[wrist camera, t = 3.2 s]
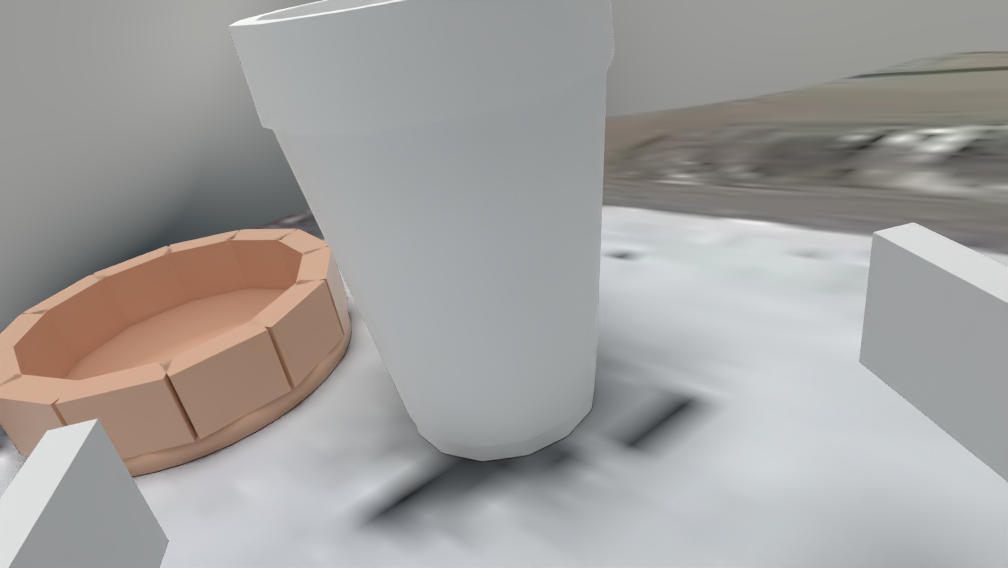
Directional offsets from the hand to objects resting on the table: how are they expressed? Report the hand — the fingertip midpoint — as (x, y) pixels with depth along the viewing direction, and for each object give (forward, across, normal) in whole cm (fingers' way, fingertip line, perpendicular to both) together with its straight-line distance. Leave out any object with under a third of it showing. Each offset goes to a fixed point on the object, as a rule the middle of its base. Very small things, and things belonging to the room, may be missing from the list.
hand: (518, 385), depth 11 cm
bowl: (+16, -12, -7) cm, 21 cm away
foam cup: (+9, 0, -7) cm, 12 cm away
